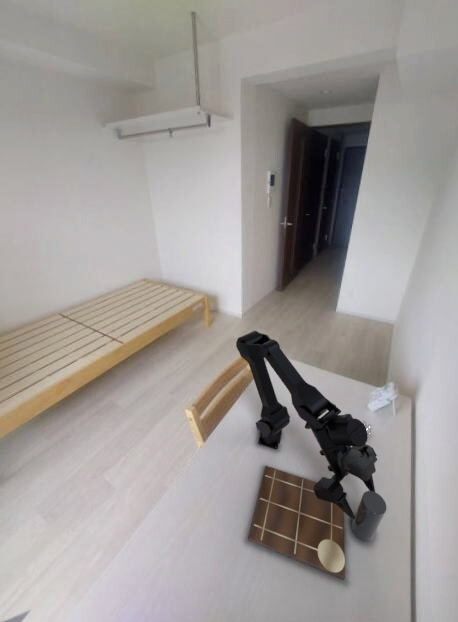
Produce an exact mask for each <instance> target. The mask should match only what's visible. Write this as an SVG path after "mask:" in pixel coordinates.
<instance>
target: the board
mask: <svg viewBox="0 0 458 622" xmlns="http://www.w3.org/2000/svg"><path fill="white" fill-rule="evenodd" d="M317 482H318V481H315V480H312V479H308V478H305V477H303V476H299V475H297V474H296V475H295V474H292V473H289V472H287V471H284V470H280V469H277V468H274V467H271V466H268V465H265V467H264V471H263V475H262V481H261V485H260V487H259V488H260V489H259V493H258V497H257V501H256V506H255V509H254V514H253V518H252V522H251V527H250V531H249V535H248V541H249V542H250V543H253V544H256V545H259V546H261V547H263V548H266V549H268V550H270V551H273V552H275V553H277V554H280V555H283V556H285V557H287V558H289V559H292V560H294V561H296V562H298V563H299V562H300V563H302V564H304V565H307V566H309V567H310V568H311V567H312V568H313V569H316V570H318V571H321V572H323V573H326V574H328V575H331V576H333V577H335V578H337V579H339V580H342V581H345V578H346V555H345V553H346V550H345V549H346V548H345V512H344V511H343V510H341V509H340V508H339V507H338V506H337V505H336V504H335V503H331V502H328V501H324V500H321V499H318V498H317V496H316V494H315V492H314V485H315V484H316V483H317Z"/></svg>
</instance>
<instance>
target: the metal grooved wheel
mask: <svg viewBox="0 0 458 622" xmlns="http://www.w3.org/2000/svg"><path fill="white" fill-rule="evenodd" d="M361 422H362V423H363V424H364V425H365V427H366V430H367V438H368V437H369V436H370V434H371V432H372V431H373V425H372V424H371V423H369V424H368V421H367V420H365V419H364V420H362V421H361Z"/></svg>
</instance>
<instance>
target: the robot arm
mask: <svg viewBox="0 0 458 622" xmlns="http://www.w3.org/2000/svg"><path fill="white" fill-rule="evenodd" d="M235 347H236V349H237V351H238V353H239V355H240V357H241V359H243V360H244V361H246V362H247V363H248V366H249V369H250V372H251V375H252V379H253V381H254V384H255V387H256V391H257V393H258V396H259V399H260V402H261V405H262V406H261V411H260V419H259V420H258V421H256V422H255V428H256V430H258V431H259V437H258V441H257V443H258V445H261V446H264V447H267V448H271V449H274V450H278V449H279V445H280V444H281V441H282V434H283V429H284V428H286V427H287V426H288V425H289V424H290V422H291V419H290V418H291V416H290V413H289V411H288V408H287V406H285V405H283V404H282V403H280V401H278V398H277V394H276V392H275V388H274V385H273V382H272V380H271V376H270V374H269V370H268V367H267V363H266V361H267V362H268V365H270V367H271V368H272V369H273V371H274V372H275V374H276V376H278V378H279V379H280V381H281V382H282V384H283V385H284V386H285V388H286V389H287V390H288V392H289V394H290V397H291V399H290V400H291V404H292V406H293V409H294V410H295V411H296V413H297V415H298V417H299V418H300V419H301V420H302V421H304V422H305V425H304V428H305V429H306V430H310V431H311V432H312V434H313V436H314V438H315V439H316V441H317V444H318V446H319V447H320V450H319V452H318V453H319V454H320V456H324V457H325V459H326V461H327V464H328V466H327V470H328V471H329V472H330V473H331V472H332V473H333V475H332V476H331V477H325V476H321V478H320V479H319V480H318V481H316V482H317V483H316V484H315V485H314V492H315V494H316V496H317V498H318V499H321V500H324V501H328V502H331V503H335V504H336V505H337V506H338V507H339V508H340V509H341V510H343V511H344V514H346V515H347V516H348V517H349V518H350V519H351V520H353V519H355V513H354V512H353V510H352V508H351V505H350V503H349V501H348V500H347V495H348V494H347V492H344V487H343V485H342V482H343V481H344V480H345V479H346V478H347V477H348V476H349V474H350V475H351V476H354V477H356V478H358V479H359V480H361V481H362V482H363V485H365V486H366V488H367V489H368V491H373V492H376V489H375V483H374V477H373V474H374V473H376V471H377V470H376V465H375V464H376V462H377V461H378V458H377V456H378V455H377V453H376V451H375V450H374V448H373V447H372V446H371V445H369V444H366V443H367V441H368V437H367V430H366V427H365V425H364V424H363V423H362V421H361V420H360V419H358V418H353V415H352V414H351V413H345V414H341V413H342V410H341V409H340V408H339V407H338V406H337V405H336V404H335V403H333V402H331V400H329V399H328V398H326V396H324V395H323V394H322V393H321V392H320V391H319V389H318V388H317V387H316V386H314V385H312V384H310V383H308V382H307V381H306V380H305V379H304V378H303V376H302V375H301V374H300V372H299V371H298V370H297V369H296V367H295V366H294V365H293V363H292V362H291V361H290V359H289V358H288V357H287V356H286V354H285V353H284V351H283V350H282V349H281V346H280V344H279V342H278V341H277V340H276V339H273V338H270V336H269V335H268V334H266V333H262V332H259V331H257V330H252V331H250V332H248V333H245V334H244V335H241V336H239V337H238V338H237V339H236V342H235ZM265 360H266V361H265Z"/></svg>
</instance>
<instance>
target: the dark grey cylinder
mask: <svg viewBox="0 0 458 622" xmlns="http://www.w3.org/2000/svg"><path fill="white" fill-rule="evenodd" d="M387 509H388V507H387V503H386V501H385V499H384V498H383V497H382V495H381V494H379V493H377V492H376V491H375V492H373V491H370V490H366V491H364V492H363V494H362V496H361V498H360V501H359V503H358V506H357V509H356V511H355V513H354V516H355V519H352V520H351V521H352V522H351V525H350V526H351V531H352V534H353V535H354V536H355V537H356V538H357V539H358V540H359V541H361V542H363V543H369V542H371V541H372V540H373V538H374V536H375V534H376V532H377V530H378V528H379V526H380V524H381V522H382V520H383V518H384V516H385V514H386V512H387Z"/></svg>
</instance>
